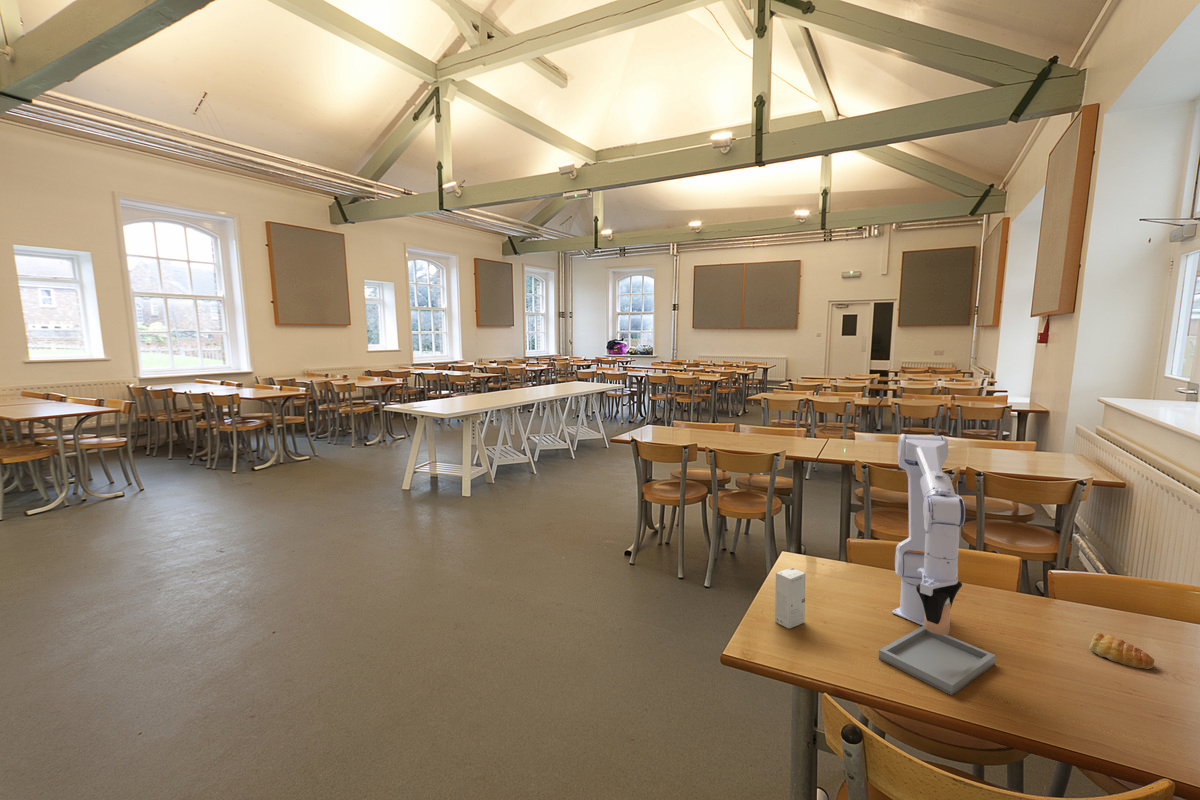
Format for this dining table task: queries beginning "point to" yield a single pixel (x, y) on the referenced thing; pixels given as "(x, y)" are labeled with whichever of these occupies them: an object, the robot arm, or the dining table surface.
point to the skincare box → (790, 598)
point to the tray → (937, 659)
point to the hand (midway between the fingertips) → (937, 617)
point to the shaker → (944, 622)
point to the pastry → (1120, 651)
